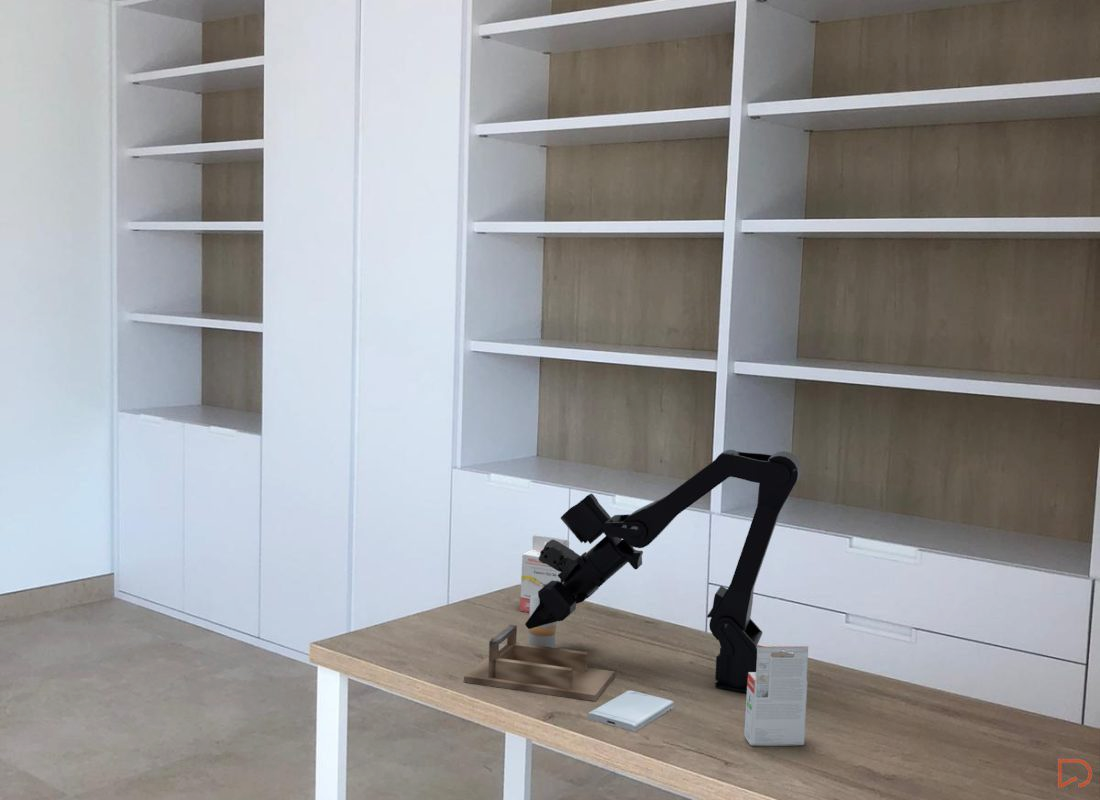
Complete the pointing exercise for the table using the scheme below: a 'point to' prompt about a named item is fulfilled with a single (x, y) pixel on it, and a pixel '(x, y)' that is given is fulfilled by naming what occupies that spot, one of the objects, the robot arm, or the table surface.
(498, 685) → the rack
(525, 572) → the ink cartridge box
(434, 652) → the table surface
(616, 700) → the hard drive
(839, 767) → the table surface
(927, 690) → the table surface
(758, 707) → the ink box
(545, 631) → the white capped grey cylinder
